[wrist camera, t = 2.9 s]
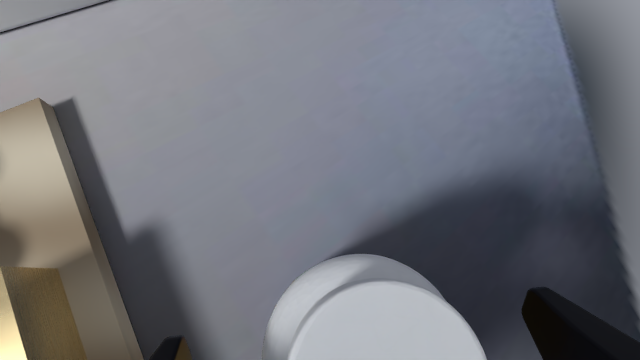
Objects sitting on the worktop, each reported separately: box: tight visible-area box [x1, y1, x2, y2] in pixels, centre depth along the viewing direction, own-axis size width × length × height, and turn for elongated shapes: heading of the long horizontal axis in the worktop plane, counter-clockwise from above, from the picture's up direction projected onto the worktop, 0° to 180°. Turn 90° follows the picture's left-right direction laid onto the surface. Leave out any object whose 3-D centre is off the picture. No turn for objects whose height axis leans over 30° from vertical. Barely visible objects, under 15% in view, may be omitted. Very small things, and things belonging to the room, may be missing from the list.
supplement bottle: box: [262, 254, 487, 360], centre depth 11 cm, size 5×5×10 cm
